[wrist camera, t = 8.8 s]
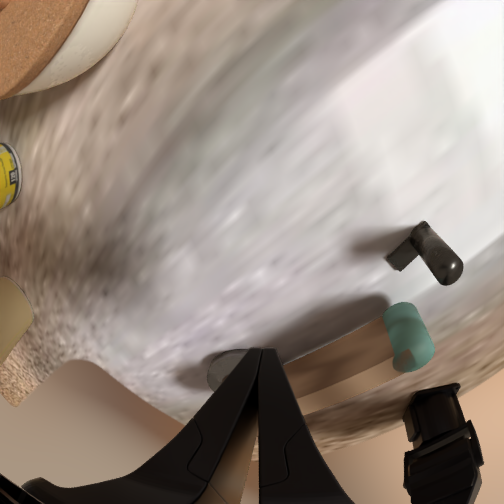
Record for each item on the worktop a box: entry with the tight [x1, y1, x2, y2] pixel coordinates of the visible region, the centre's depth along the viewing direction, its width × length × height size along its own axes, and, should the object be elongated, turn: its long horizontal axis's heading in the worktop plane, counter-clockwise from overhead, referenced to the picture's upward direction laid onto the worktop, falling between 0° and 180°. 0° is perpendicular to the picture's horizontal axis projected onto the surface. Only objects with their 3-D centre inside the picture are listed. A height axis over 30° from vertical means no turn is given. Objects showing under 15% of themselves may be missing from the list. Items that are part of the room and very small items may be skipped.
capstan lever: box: [221, 302, 435, 437], centre depth 21 cm, size 20×5×4 cm, turn 129°
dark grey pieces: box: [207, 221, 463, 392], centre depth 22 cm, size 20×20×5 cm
